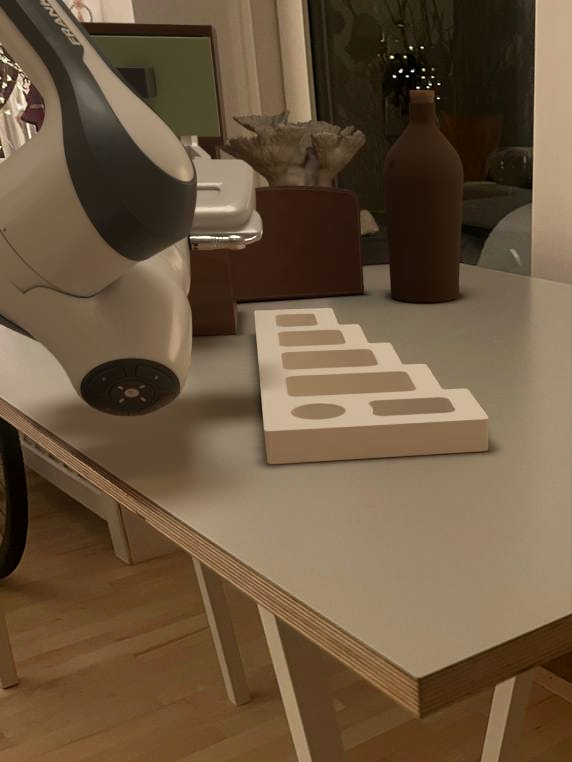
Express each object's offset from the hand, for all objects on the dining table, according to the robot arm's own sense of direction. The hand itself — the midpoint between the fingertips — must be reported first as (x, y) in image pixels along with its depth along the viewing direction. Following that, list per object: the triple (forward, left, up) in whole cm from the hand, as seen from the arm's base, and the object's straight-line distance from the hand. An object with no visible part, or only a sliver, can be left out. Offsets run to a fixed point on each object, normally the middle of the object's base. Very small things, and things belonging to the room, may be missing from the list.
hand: (134, 142), depth 86 cm
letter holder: (-20, +43, -22) cm, 52 cm away
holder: (+15, +10, -22) cm, 28 cm away
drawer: (-9, +11, 0) cm, 15 cm away
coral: (-36, +67, -22) cm, 79 cm away
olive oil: (-2, +51, -22) cm, 56 cm away
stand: (-17, +20, -21) cm, 34 cm away
